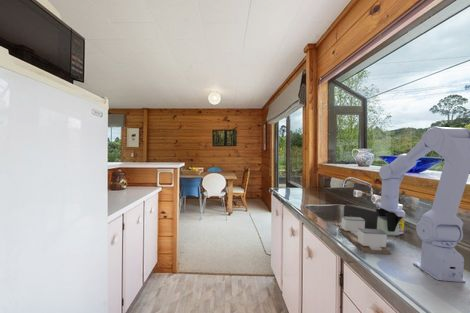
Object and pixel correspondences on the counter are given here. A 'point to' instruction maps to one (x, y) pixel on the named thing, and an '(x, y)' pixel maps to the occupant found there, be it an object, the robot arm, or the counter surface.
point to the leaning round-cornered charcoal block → (362, 215)
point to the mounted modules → (364, 232)
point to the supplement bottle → (401, 221)
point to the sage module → (383, 226)
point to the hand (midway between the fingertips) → (387, 229)
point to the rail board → (368, 249)
